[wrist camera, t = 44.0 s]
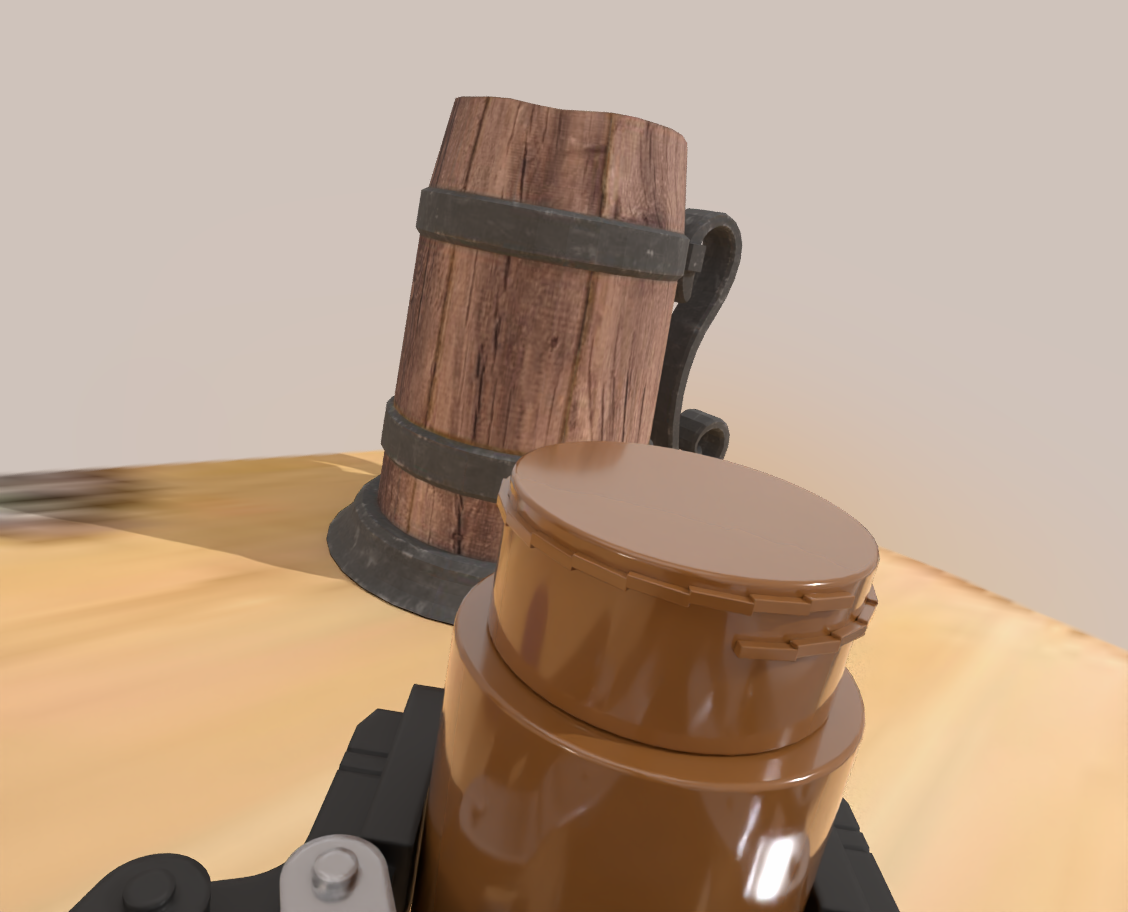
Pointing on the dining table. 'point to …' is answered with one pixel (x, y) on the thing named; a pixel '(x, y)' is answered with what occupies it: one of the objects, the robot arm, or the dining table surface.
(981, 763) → the dining table surface
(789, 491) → the jar
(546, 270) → the tankard
